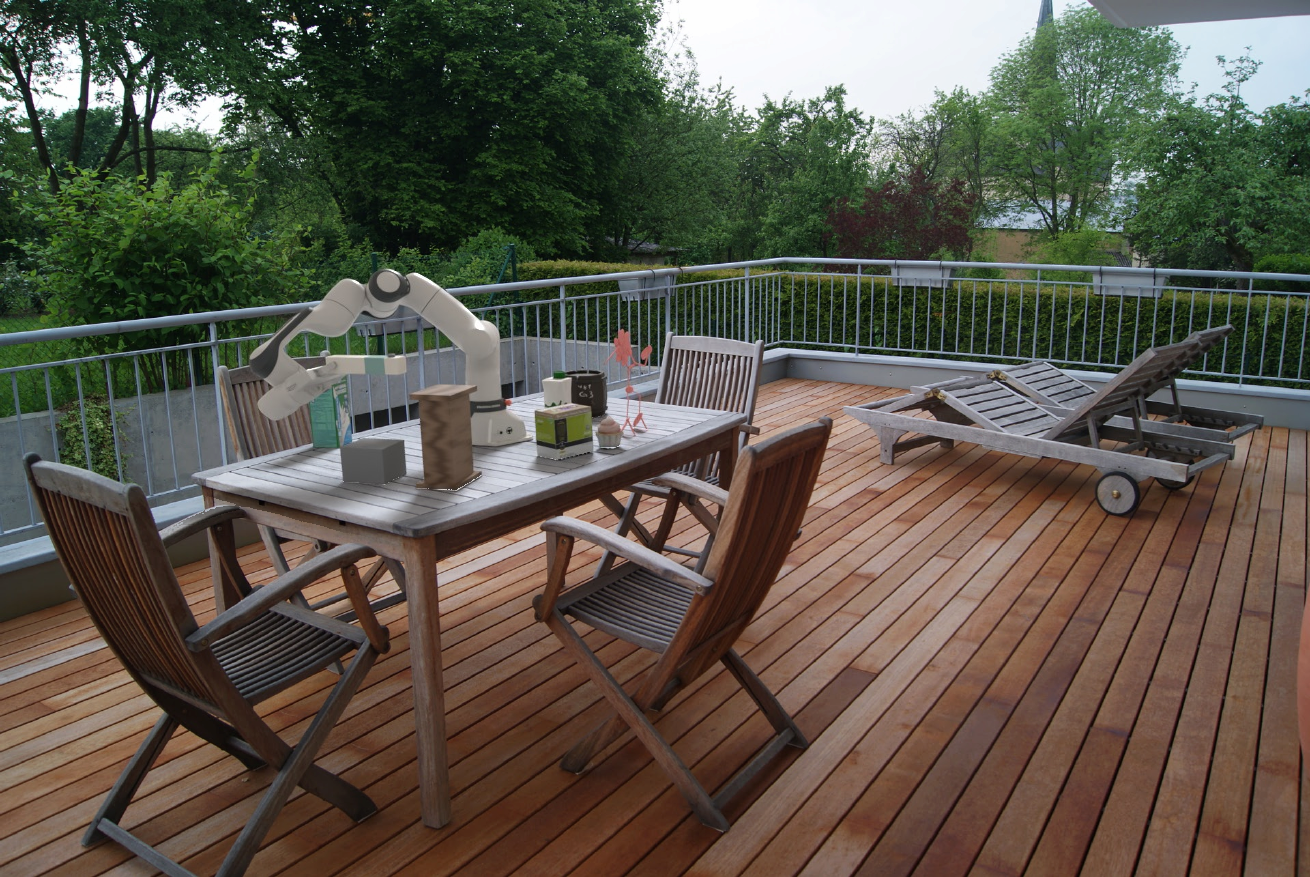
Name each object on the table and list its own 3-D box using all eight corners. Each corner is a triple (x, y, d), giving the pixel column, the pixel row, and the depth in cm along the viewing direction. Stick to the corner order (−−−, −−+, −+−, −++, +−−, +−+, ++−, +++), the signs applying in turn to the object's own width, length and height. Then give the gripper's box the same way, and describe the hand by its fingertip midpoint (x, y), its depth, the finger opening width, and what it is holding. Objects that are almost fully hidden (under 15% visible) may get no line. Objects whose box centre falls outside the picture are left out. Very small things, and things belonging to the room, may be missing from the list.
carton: (326, 373, 262) (324, 354, 261) (336, 370, 266) (334, 352, 265) (398, 375, 256) (396, 355, 255) (406, 372, 261) (405, 353, 259)
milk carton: (338, 447, 305) (331, 371, 300) (312, 447, 307) (305, 370, 301) (352, 441, 314) (346, 366, 308) (327, 440, 316) (320, 366, 310)
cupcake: (618, 442, 307) (618, 412, 305) (628, 448, 299) (627, 417, 296) (591, 445, 304) (590, 414, 302) (599, 451, 295) (598, 420, 293)
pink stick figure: (660, 425, 332) (656, 325, 324) (626, 441, 309) (621, 333, 302) (621, 423, 339) (617, 324, 331) (585, 438, 316) (580, 333, 308)
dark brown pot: (587, 407, 367) (586, 367, 363) (617, 414, 354) (616, 372, 350) (549, 414, 355) (548, 372, 351) (579, 421, 342) (578, 378, 338)
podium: (343, 482, 264) (339, 447, 262) (366, 471, 275) (363, 437, 273) (384, 484, 261) (382, 449, 258) (406, 473, 272) (404, 439, 270)
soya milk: (575, 428, 329) (573, 371, 325) (563, 434, 321) (561, 375, 317) (553, 426, 332) (551, 370, 328) (540, 432, 324) (538, 374, 320)
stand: (415, 488, 256) (409, 394, 250) (443, 474, 271) (437, 384, 266) (456, 491, 253) (450, 395, 247) (481, 476, 268) (476, 385, 263)
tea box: (573, 447, 301) (571, 402, 298) (594, 452, 294) (592, 406, 291) (535, 456, 291) (533, 408, 288) (556, 461, 284) (554, 413, 281)
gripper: (276, 381, 257) (313, 357, 253) (320, 370, 276) (355, 347, 272) (288, 401, 257) (325, 378, 253) (331, 389, 277) (366, 366, 272)
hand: (341, 362), depth 263 cm, fingers closed on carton, 4 cm apart
